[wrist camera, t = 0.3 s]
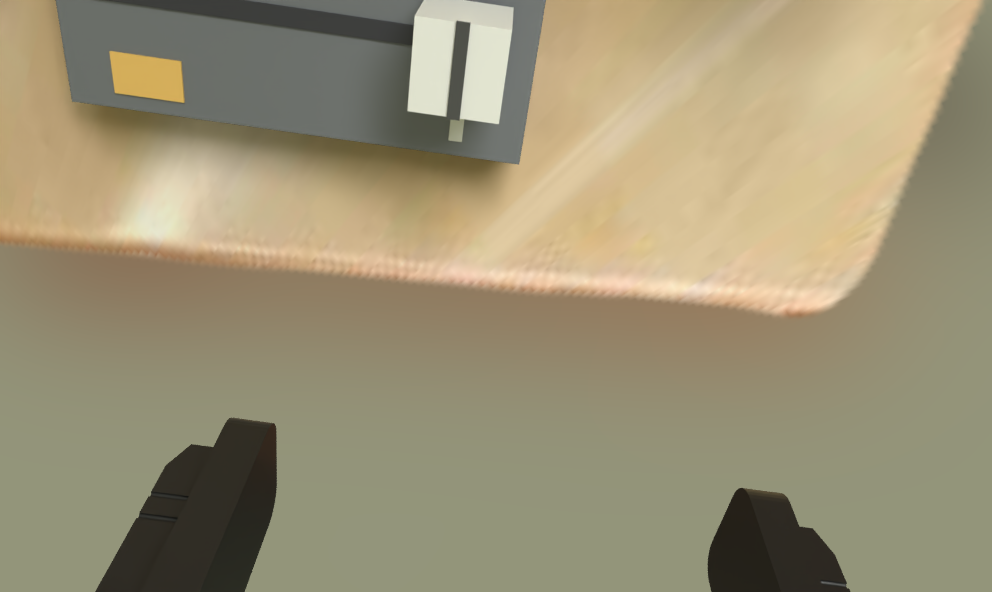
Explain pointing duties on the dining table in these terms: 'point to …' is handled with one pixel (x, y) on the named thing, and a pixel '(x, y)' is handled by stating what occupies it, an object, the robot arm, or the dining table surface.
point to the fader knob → (460, 59)
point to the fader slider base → (286, 68)
